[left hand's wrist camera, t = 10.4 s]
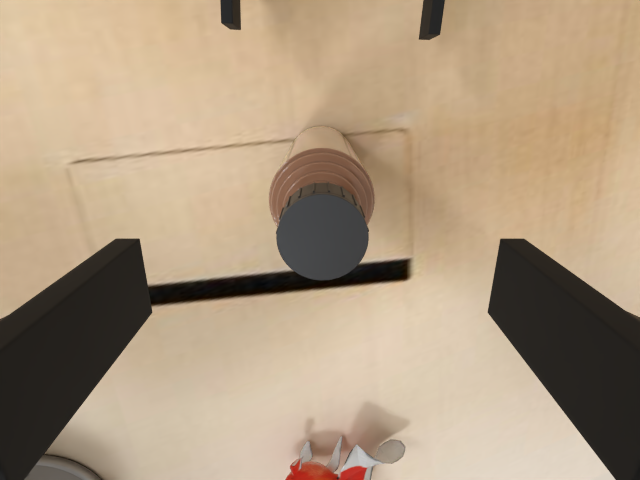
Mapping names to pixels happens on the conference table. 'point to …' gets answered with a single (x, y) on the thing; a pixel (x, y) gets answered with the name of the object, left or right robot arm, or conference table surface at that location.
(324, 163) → the bottle
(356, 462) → the fish
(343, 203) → the cap
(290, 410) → the conference table surface
